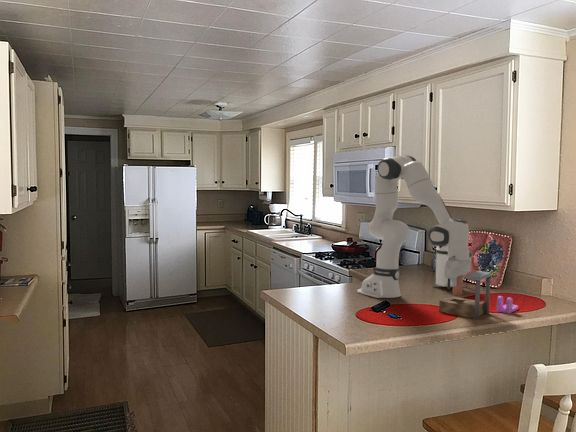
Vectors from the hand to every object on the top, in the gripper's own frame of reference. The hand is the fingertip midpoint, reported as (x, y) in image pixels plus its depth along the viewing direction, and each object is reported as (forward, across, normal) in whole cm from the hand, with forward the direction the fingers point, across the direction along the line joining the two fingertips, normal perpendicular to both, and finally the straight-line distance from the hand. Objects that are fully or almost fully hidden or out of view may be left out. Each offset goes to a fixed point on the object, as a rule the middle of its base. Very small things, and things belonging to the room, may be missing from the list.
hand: (457, 285), depth 227 cm
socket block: (+12, 0, -2) cm, 12 cm away
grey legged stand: (+12, +1, -9) cm, 15 cm away
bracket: (+13, +20, -15) cm, 29 cm away
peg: (+4, 0, 0) cm, 4 cm away
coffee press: (+14, +46, +26) cm, 54 cm away
